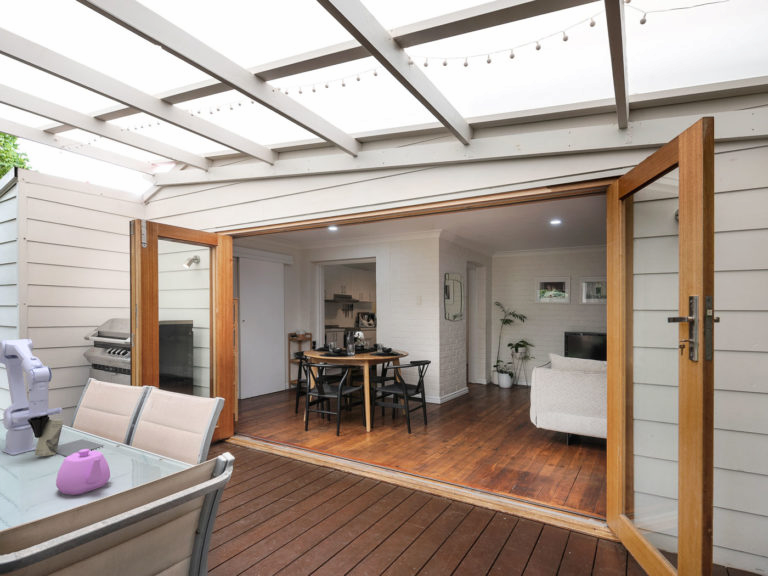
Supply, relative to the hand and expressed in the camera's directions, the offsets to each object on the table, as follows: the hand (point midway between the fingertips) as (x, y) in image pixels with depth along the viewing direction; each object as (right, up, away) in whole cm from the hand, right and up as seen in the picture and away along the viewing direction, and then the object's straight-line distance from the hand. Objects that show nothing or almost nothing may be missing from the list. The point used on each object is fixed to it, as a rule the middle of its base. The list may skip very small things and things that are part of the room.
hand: (38, 437), depth 157 cm
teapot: (+36, -7, -26) cm, 45 cm away
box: (+1, -8, +2) cm, 8 cm away
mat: (+6, -8, +11) cm, 15 cm away
